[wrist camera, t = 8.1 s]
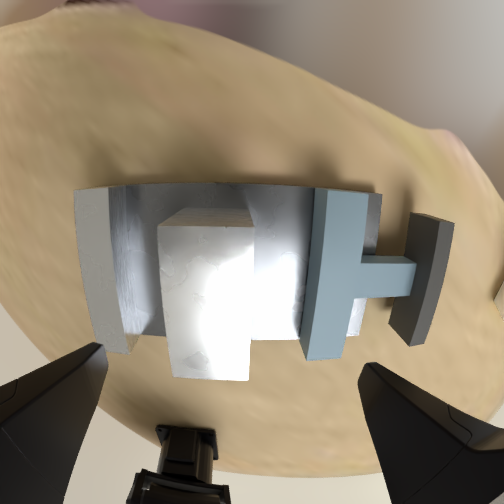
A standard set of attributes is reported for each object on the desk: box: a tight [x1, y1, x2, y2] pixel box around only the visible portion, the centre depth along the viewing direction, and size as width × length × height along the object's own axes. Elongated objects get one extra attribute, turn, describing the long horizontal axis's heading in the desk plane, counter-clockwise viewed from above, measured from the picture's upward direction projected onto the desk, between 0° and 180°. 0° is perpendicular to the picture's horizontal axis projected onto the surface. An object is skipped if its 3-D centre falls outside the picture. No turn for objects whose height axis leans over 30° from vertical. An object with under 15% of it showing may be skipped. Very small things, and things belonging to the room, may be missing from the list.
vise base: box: [74, 183, 382, 355], centre depth 17 cm, size 11×20×4 cm, turn 88°
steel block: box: [157, 208, 255, 380], centre depth 15 cm, size 8×4×6 cm, turn 178°
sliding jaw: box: [299, 188, 455, 361], centre depth 16 cm, size 11×9×4 cm
